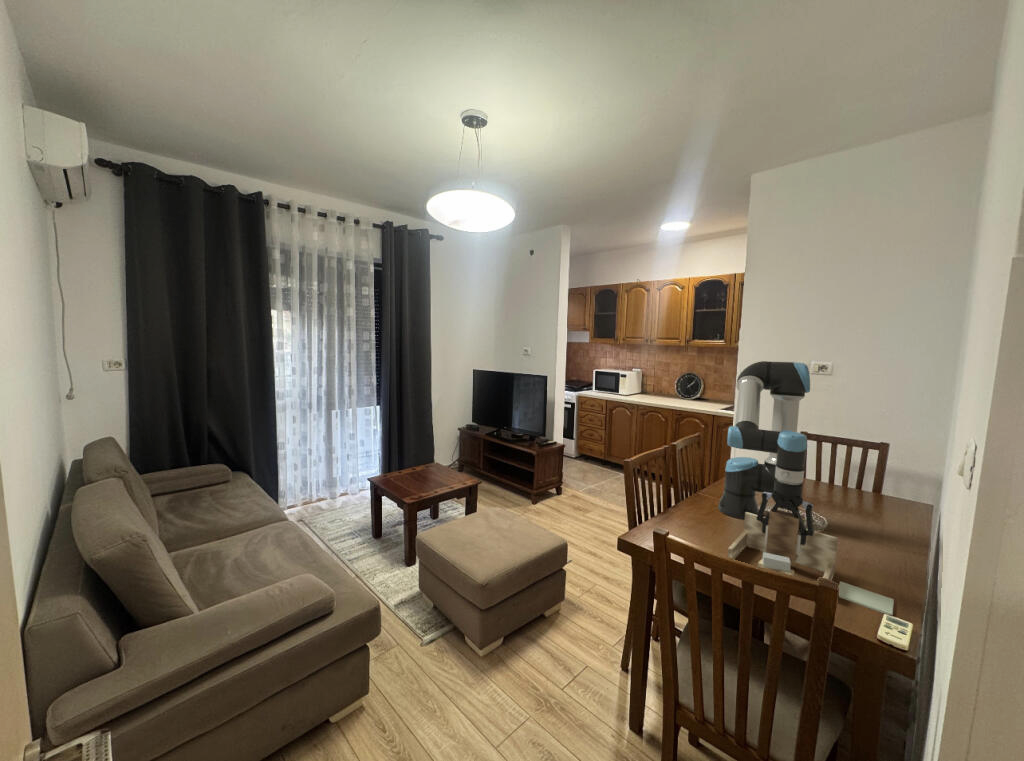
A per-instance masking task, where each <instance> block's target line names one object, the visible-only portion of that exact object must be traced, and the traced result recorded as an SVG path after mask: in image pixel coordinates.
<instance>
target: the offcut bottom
mask: <svg viewBox="0 0 1024 761" xmlns="http://www.w3.org/2000/svg"><path fill="white" fill-rule="evenodd" d="M762 559H763V558H761V559H760V560H759V561H758V562H757V568H758V567H761V568H765V569H769V570H772V571H776V572H780V573H785V574H788V575H793V576H794V577H795V570H794V569H791V568H790V572H786V571H782V570H777V569H773V568H768V567H764V566H763V562H762Z"/></svg>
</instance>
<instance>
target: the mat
mask: <svg viewBox="0 0 1024 761" xmlns="http://www.w3.org/2000/svg"><path fill="white" fill-rule="evenodd" d="M838 587H839V597H838V598H841V599H843V600H846V601H848V602H851V603H854V604H857V605H859V606H862V607H865V608H868V609H870V610H873V611H877V612H878V613H881V614H884V613H885V615H887V614H890V615H892V616H893V613H894V603H895V602H894V598H891V597H888V596H884V595H882V594H879V593H876V592H873V591H870V590H867V589H864V588H862V587H859V586H855V585H852V584H849V583H847V582H844V581H839V583H838ZM890 615H889V616H890Z"/></svg>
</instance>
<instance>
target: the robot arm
mask: <svg viewBox="0 0 1024 761" xmlns="http://www.w3.org/2000/svg"><path fill="white" fill-rule="evenodd" d="M736 389H737V390H738V396H737V404H736V414H735V421H734V422H735V423H734V426H732V425H731V426H729V427H728V429H727V441H726V442H727V443H726V444H727V446H728V447H730V448H735V449H740V450H747V451H748V450H749V451H756V452H763V453H769V454H768V455H769V456H768V457H766V458H765V459H764V463H760V462H759V460H758V459H756V458H752V457H746V456H745V457H744V456H738V457H732V458H730V459H728V460H727V461H726V463H725V464H726V465H725V469H724V470H725V474H724V476H725V478H724V487H723V489H724V490H723V493H722V495H721V497H720V500H719V501H718V508H717V509H718V510H719V512H721V513H722V514H724V515H726V516H729V517H731V518H736V519H740V520H745V513H746V512H748V513H752V514H755V515H757V520H758V521H760V522H762V524H763V526H762V532H763V533H765V544H766V545H767V535H768V524H769V523H768V521H769V513H770V511H772V512H776V510H777V509H778V510H779V509H783V510H786V511H788V512H790V511H791V513H792V514H793V515H794V518H798V519H800V520H799V530H800V532H799V534H798V539H797V550H796V554H797V555H799V554H800V552H801V545H805V543H806V536H813V534H814V531H815V527H814V516H813V508H814V503H813V502H807V501H805V500H804V499H803V497H802V496H803V486H804V485H803V482H804V478H805V463H806V455H807V448H808V437H807V435H806V434H804V433H801V432H798V424H799V423H798V422H799V411H800V402H801V400H803V399H804V398H805V396H806V394H807V393H810V392H811V375H810V369H809V366H808V365H807V364H806V363H804V362H794V361H789V362H788V361H767V360H765V361H764V360H762V361H756V362H754V363H752V364H750V365H748V366H746V368H744V369H743V370H742V371H741V372H740V373H739V375H738V377H737V380H736ZM763 390H766V391H767V390H768V391H769V395H770V396H771V397H772V399H773V405H772V406H773V407H772V408H773V409H772V417H771V419H772V420H771V430H769V429H760V428H759V427H760V410H761V394H762V393H761V392H762V391H763ZM756 492H757V493H761V503H760V507H758V503H757V500H756V499H757V498H756ZM771 498H772V500H773V501H774V505H773V506H772V508H771V510H770V511H769V512H768V514H767V515H766V518H764V517H765V516H764V514H765V510H766V508H767V505H768V502H769V500H770V499H771ZM801 505H802V506H803V509H804V510H805V519H806V526H805V523H804V520H803V517H802V518H800V517H801V516H802V515H801V513H800V509H799V507H800V506H801ZM806 529H808V530H806Z"/></svg>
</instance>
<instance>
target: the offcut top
mask: <svg viewBox="0 0 1024 761" xmlns="http://www.w3.org/2000/svg"><path fill="white" fill-rule="evenodd" d="M761 559H762V562H763V566H764V567H768V568H773V569H777V570H782V571H786V572H790V569H791V564H792V563H791V562H792V561H790V559H789V558H788V557H784V556H779V555H774V554H769V553H765V552H762V558H761Z"/></svg>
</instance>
